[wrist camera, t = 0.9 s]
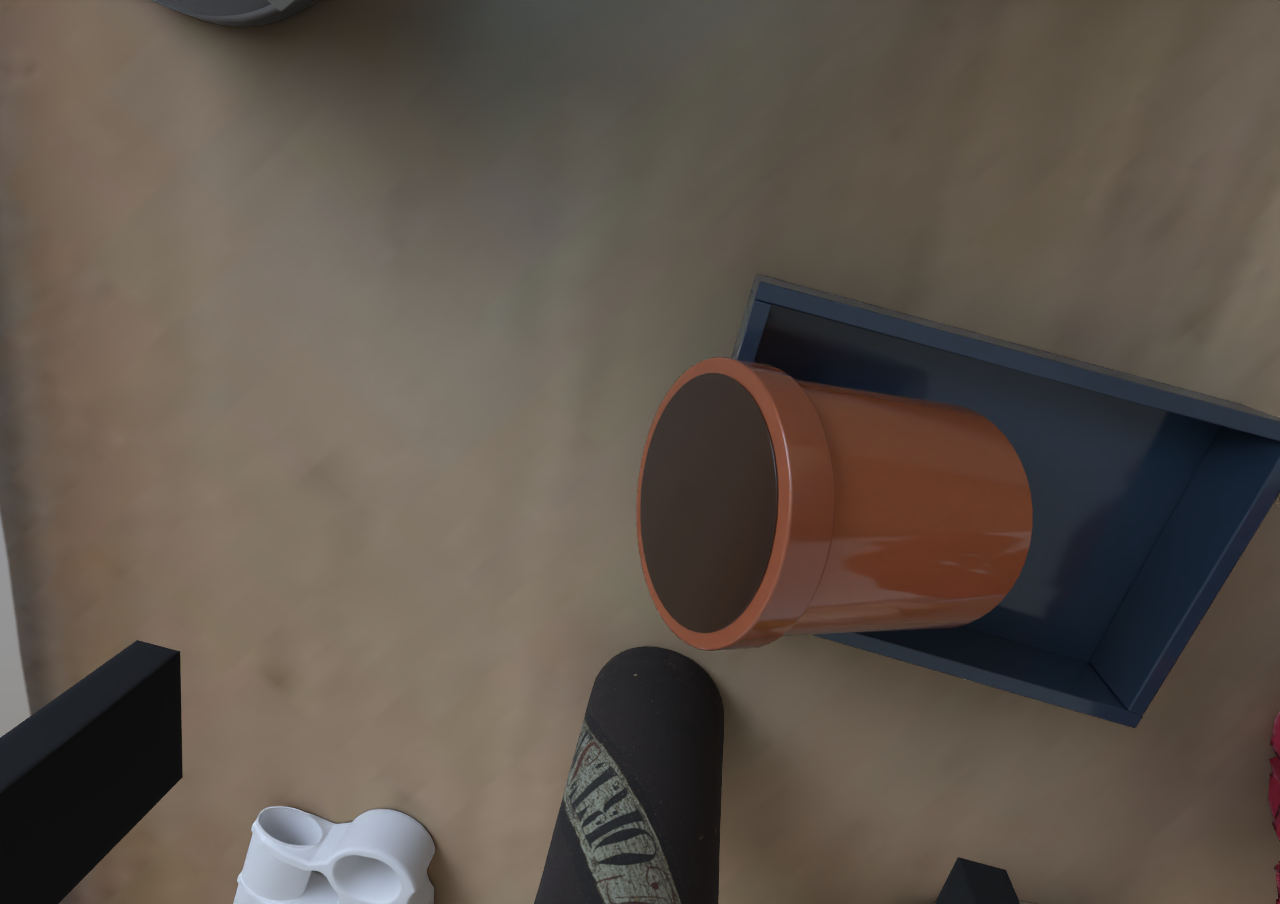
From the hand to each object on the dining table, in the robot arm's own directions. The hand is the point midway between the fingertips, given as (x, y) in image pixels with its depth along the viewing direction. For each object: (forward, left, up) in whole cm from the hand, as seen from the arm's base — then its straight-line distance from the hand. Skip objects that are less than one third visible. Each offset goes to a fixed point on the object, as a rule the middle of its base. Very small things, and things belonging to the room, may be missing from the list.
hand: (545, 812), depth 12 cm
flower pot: (0, +7, -26) cm, 27 cm away
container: (+18, +4, -27) cm, 32 cm away
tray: (0, +14, -26) cm, 30 cm away
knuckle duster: (+41, -13, -27) cm, 51 cm away
